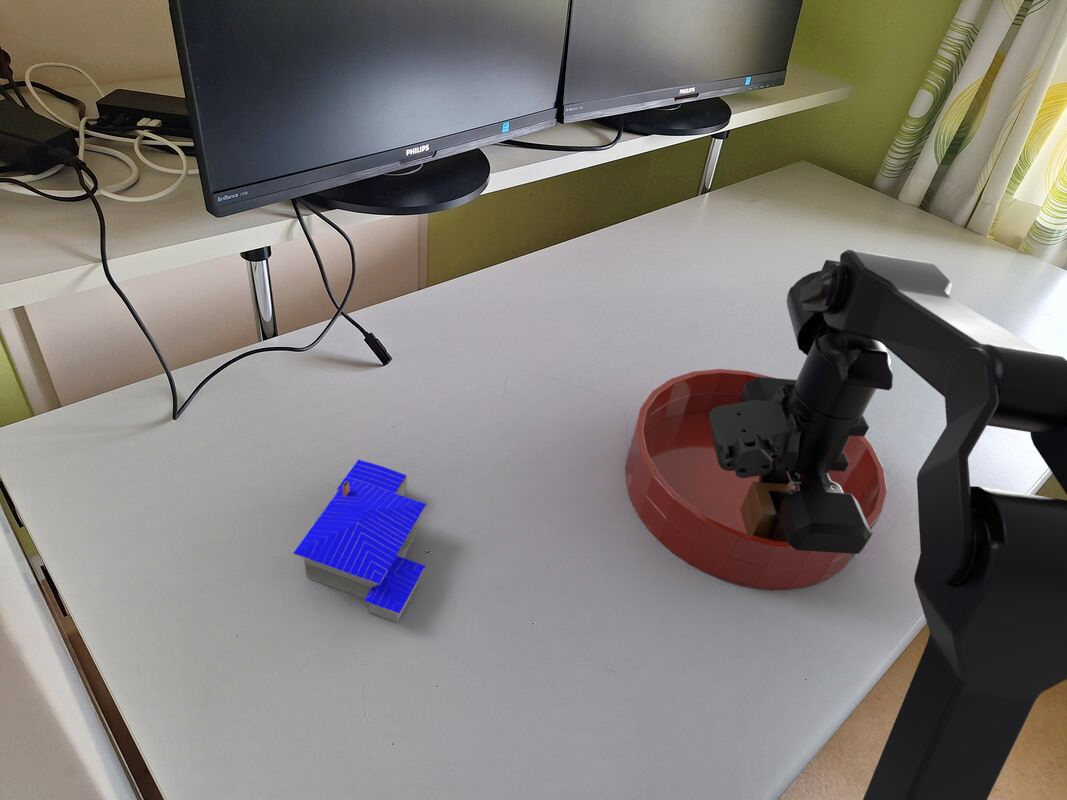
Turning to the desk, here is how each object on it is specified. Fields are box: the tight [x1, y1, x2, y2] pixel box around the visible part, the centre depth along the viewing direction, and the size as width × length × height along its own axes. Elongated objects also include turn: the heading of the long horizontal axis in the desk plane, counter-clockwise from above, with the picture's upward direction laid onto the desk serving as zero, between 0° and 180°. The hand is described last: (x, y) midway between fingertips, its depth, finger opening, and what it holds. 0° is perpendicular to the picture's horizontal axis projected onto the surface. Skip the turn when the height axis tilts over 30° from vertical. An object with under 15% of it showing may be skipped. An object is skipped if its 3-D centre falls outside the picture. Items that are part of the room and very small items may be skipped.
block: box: [740, 482, 795, 542], centre depth 71 cm, size 4×4×4 cm
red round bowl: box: [624, 368, 888, 591], centre depth 80 cm, size 25×25×6 cm
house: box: [293, 459, 427, 623], centre depth 69 cm, size 11×14×6 cm
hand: (768, 520), depth 72 cm, fingers closed on block, 4 cm apart
